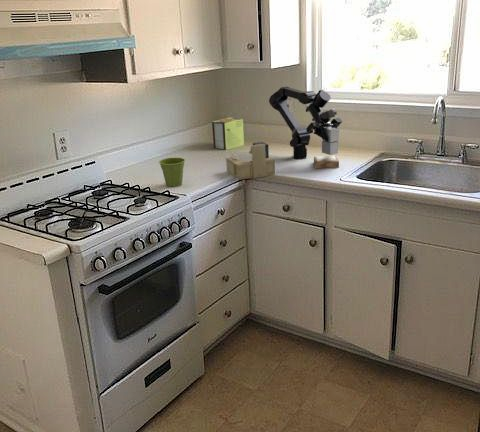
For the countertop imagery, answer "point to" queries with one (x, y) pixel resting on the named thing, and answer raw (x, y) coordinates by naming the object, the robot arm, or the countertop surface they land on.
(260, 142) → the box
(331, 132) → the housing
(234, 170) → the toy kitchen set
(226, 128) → the protein box
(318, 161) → the stand
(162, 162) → the plant pot
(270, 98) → the robot arm
